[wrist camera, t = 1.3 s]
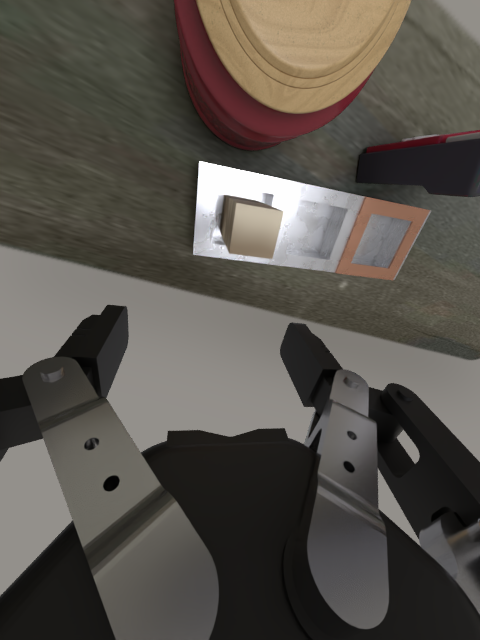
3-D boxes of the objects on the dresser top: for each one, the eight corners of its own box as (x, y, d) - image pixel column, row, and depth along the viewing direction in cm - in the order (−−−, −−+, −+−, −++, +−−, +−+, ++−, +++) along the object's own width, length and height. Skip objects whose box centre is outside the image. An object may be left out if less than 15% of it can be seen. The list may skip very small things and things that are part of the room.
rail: (199, 163, 26) (199, 161, 22) (406, 207, 32) (433, 211, 28) (193, 245, 30) (193, 255, 26) (376, 270, 36) (395, 280, 33)
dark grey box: (445, 135, 28) (649, 101, 15) (433, 176, 30) (602, 177, 18) (359, 146, 27) (500, 120, 15) (353, 188, 29) (470, 197, 17)
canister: (170, 123, 23) (126, 35, 9) (197, -88, 17) (204, -1556, 3) (284, 169, 27) (390, 162, 12) (339, 8, 21) (672, -382, 6)
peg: (224, 194, 27) (236, 202, 18) (257, 200, 27) (284, 211, 19) (219, 230, 29) (228, 253, 20) (250, 235, 29) (272, 259, 21)
